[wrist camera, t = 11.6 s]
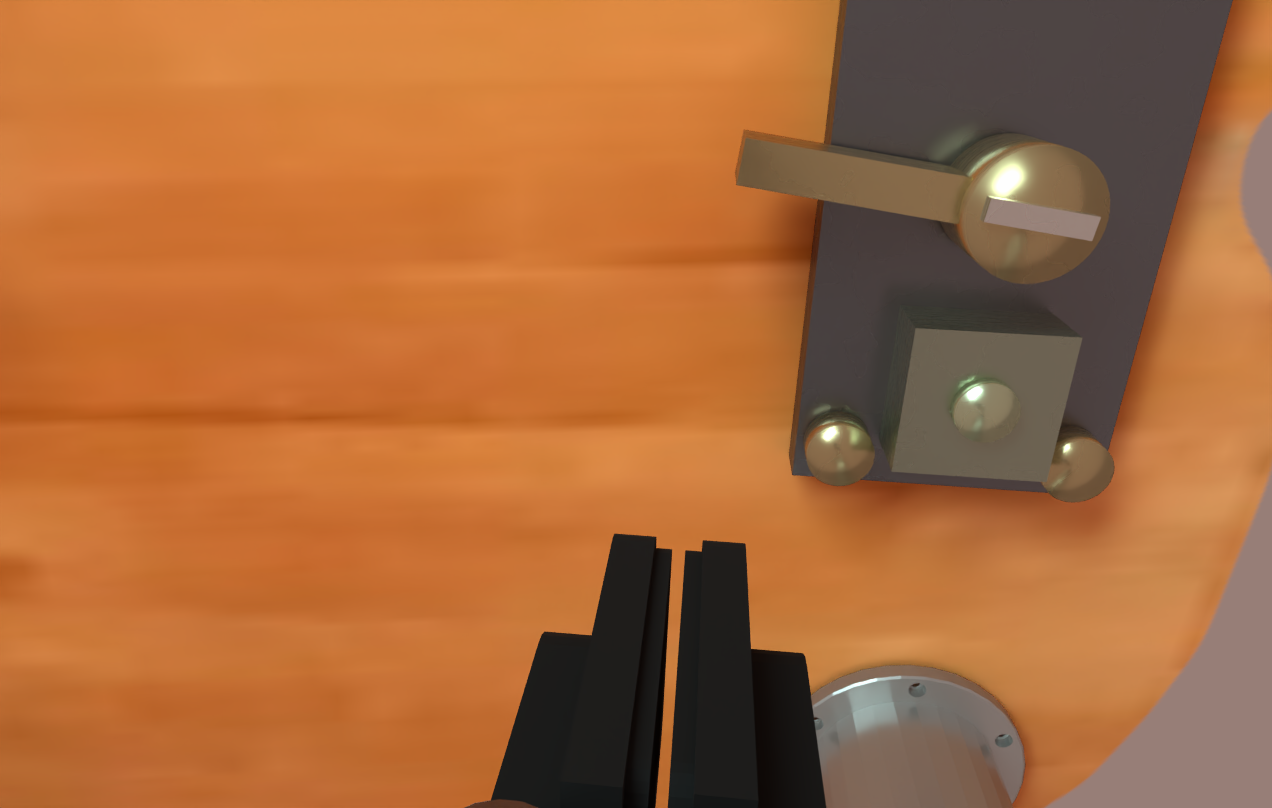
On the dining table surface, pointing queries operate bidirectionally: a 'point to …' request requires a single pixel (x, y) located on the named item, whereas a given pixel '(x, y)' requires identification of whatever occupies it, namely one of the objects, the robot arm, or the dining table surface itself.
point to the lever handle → (956, 195)
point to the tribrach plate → (955, 283)
